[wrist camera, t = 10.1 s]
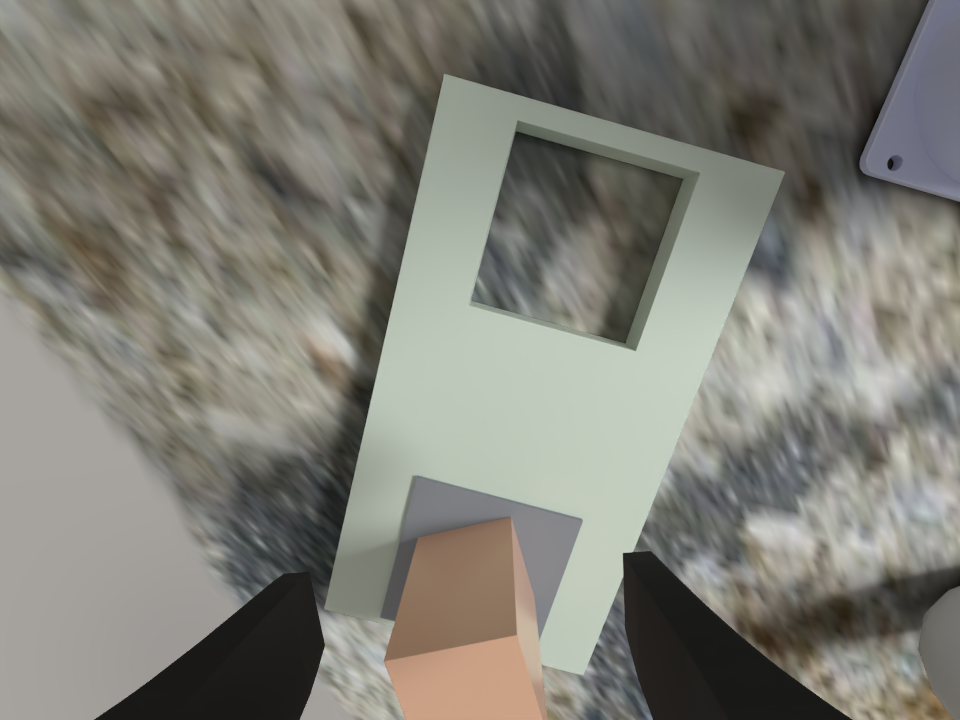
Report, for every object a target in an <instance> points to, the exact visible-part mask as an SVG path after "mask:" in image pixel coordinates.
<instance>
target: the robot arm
mask: <svg viewBox="0 0 960 720" xmlns="http://www.w3.org/2000/svg"><path fill="white" fill-rule="evenodd" d="M890 158H891V159H892V160H893V163H894V164H893V167H892V169H891V170H889V169H888V167H887V162H888V160H889V159H890ZM859 164H860V169H861V170H862V172H863V173H864V174H866V175H868V176H872V177H875V178H879V179H882V180H886V181H889V182H893V183H896V184H900V185H903V186H906V187H910V188H913V189H917V190H920V191H924V192H927V193H931V194H934V195H938V196H941V197H945V198H948V199H952V200H955V201H958V202H960V0H929V2H928V4H927V6H926V8H925V11H924V13H923V15H922V18H921V20H920V22H919V24H918V27H917V29H916V31H915V34H914V36H913V38H912V41H911V43H910V45H909V47H908V50H907V52H906V54H905V57H904V59H903V61H902V64H901V66H900V68H899V70H898V73H897V75H896V77H895V80H894V82H893V84H892V87H891V89H890V91H889V93H888V96H887V98H886V100H885V103H884V105H883V107H882V110H881V112H880V114H879V116H878V119H877V121H876V123H875V126H874V128H873V130H872V133H871V135H870V137H869V139H868V142H867V144H866V146H865V149H864V151H863V153H862V156H861V158H860V162H859ZM623 576H624V604H625V630H626V634H627V638H628V642H629V646H630V650H631V654H632V658H633V661H634V665H635V669H636V672H637V676H638V680H639V682H640V685H641V688H642V691H643V693H644V696H645V699H646V701H647V704H648V707H649V710H650V712H651V715H652V718H653V720H852V719H850V718H849V717H848V716H846V715H845V714H843V713H842V712H840V711H839V710H837V709H836V708H834V707H833V706H831V705H830V704H828V703H827V702H826V701H824V700H823V699H821V698H820V697H819V696H817V695H816V694H814V693H813V692H812V691H810V690H809V689H808V688H806V687H805V686H803V685H802V684H801V683H799V682H798V681H797V680H795V679H794V678H792V677H791V676H790V675H788V674H787V673H786V672H784V671H783V670H782V669H780V668H779V667H778V666H777V665H775V664H774V663H773V662H771V661H770V660H769V659H768V658H766V657H765V656H764V655H763V654H762V653H760V652H759V651H758V650H757V649H755V648H754V647H753V646H752V645H751V644H749V643H748V642H747V641H746V640H745V639H743V638H742V637H741V636H740V635H739V634H738V633H737V632H735V631H734V630H733V629H732V628H731V627H730V626H728V625H727V624H726V623H725V622H724V621H723V620H722V619H721V618H720V617H719V616H718V615H716V614H715V613H714V612H713V611H712V610H711V609H710V608H709V607H708V606H707V605H705V604H704V603H703V602H702V601H701V600H700V599H699V598H698V597H697V596H696V595H695V594H694V593H693V592H692V591H691V590H690V589H689V588H688V587H687V586H686V585H685V584H683V583H682V582H681V581H680V580H679V579H678V578H677V577H676V576H675V575H674V574H673V573H672V572H671V571H670V570H669V569H668V568H667V567H666V566H665V565H664V564H663V563H662V562H661V561H660V560H659V559H658V558H657V557H656V556H655V555H654V554H653V553H652V552H651V551H646V552H630V553H623ZM324 647H325V643H324V639H323V634H322V630H321V625H320V620H319V616H318V611H317V606H316V602H315V597H314V592H313V588H312V583H311V579H310V574H309V572H304V573H288V574H283V575H282V576H280V577H279V578H277V579H276V580H275V581H274V582H272V583H271V584H270V585H268V586H267V587H266V588H265V589H263V590H262V591H261V592H260V593H259V594H257V595H256V596H255V597H254V598H253V599H251V600H250V601H249V602H248V603H247V604H245V605H244V606H243V607H242V608H241V609H239V610H238V611H237V612H236V613H235V614H233V615H232V616H231V617H230V618H228V619H227V620H226V621H225V622H224V623H222V624H221V625H220V626H219V627H218V628H216V629H215V630H214V631H213V632H212V633H210V634H209V635H208V636H207V637H205V638H204V639H203V640H202V641H201V642H199V643H198V644H197V645H195V646H194V647H193V648H192V649H190V650H189V651H188V652H186V653H185V654H184V655H182V656H181V657H180V658H179V659H177V660H176V661H175V662H174V663H172V664H171V665H169V666H168V667H167V668H166V669H164V670H163V671H162V672H160V673H159V674H158V675H157V676H155V677H154V678H153V679H152V680H150V681H149V682H147V683H146V684H145V685H143V686H142V687H140V688H139V689H138V690H136V691H135V692H134V693H132V694H131V695H129V696H128V697H127V698H125V699H124V700H123V701H121V702H119V703H118V704H117V705H115V706H114V707H112V708H111V709H109V710H108V711H106V712H105V713H103V714H102V715H100V716H99V717H98V718H96V719H95V720H300V717H301V715H302V713H303V710H304V708H305V705H306V703H307V701H308V698H309V696H310V693H311V690H312V687H313V684H314V681H315V677H316V674H317V671H318V668H319V664H320V661H321V657H322V654H323V650H324Z"/></svg>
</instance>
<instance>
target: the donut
mask: <svg viewBox="0 0 960 720" xmlns="http://www.w3.org/2000/svg"><path fill="white" fill-rule="evenodd" d="M918 650H919V653H920V656H921V659H922V662H923V665H924V667H925V670H926V673H927V676H928V679H929V681H930V684H931V687H932V690H933V693H934V694H935V696H936V697H937V698H938V700H939V701H940V702H941V703H942V705H943V706H944V707H945V709H946V710H947V711H948V713H949V714H950V715H951V717H952V718H953V719H954V720H960V586H958V587H956V588H953V589H950V590H948V591H947V592H946V593H945V594H944V595H943V596H942V597H941V598H940V599H939V600H938V601H937V602H936V603H935V604H934V605H933V606H932V607H931V608H930V609H929V610H928V611H927V612H926V613H925V614H924V618H923V623H922V629H921V635H920V641H919V647H918Z"/></svg>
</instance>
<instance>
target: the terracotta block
mask: <svg viewBox="0 0 960 720" xmlns="http://www.w3.org/2000/svg"><path fill="white" fill-rule="evenodd" d="M384 663H385V666H386V668H387V671H388V674H389V676H390V679H391V681H392V684H393V687H394V689H395V692H396V694H397V697H398V700H399V702H400V705H401V707H402V710H403V712H404V715H405V718H406V720H547V711H546V702H545V692H544V683H543V673H542V664H541V654H540V645H539V635H538V626H537V616H536V607H535V598H534V594H533V591H532V587H531V584H530V580H529V577H528V574H527V570H526V567H525V563H524V560H523V556H522V553H521V549H520V546H519V542H518V539H517V535H516V532H515V529H514V525H513V522H512V518H511V517H508V518H503V519H499V520H494V521H490V522H485V523H481V524H476V525H472V526H468V527H463V528H459V529H454V530H450V531H445V532H441V533H436V534H432V535H427V536H423V537H418V540H417V543H416V547H415V551H414V554H413V558H412V561H411V565H410V569H409V572H408V576H407V580H406V583H405V587H404V590H403V594H402V598H401V601H400V605H399V609H398V612H397V616H396V619H395V623H394V627H393V630H392V634H391V638H390V641H389V645H388V648H387V652H386V656H385V659H384Z"/></svg>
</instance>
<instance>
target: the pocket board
mask: <svg viewBox="0 0 960 720" xmlns="http://www.w3.org/2000/svg"><path fill="white" fill-rule="evenodd" d="M516 131H517V132H520V133H524V134H527V135H531V136H534V137H538V138H541V139H545V140H548V141H552V142H555V143H559V144H562V145H566V146H569V147H573V148H576V149H580V150H583V151H587V152H590V153H594V154H597V155H601V156H604V157H608V158H611V159H615V160H619V161H622V162H626V163H629V164H633V165H636V166H640V167H643V168H647V169H650V170H654V171H657V172H661V173H664V174H668V175H671V176H675V177H678V178H682V179H683V181H682V184H681V187H680V190H679V193H678V195H677V198H676V201H675V204H674V207H673V210H672V212H671V215H670V218H669V221H668V224H667V227H666V229H665V232H664V235H663V238H662V241H661V244H660V246H659V249H658V252H657V255H656V258H655V261H654V263H653V266H652V269H651V272H650V275H649V278H648V280H647V283H646V286H645V289H644V292H643V295H642V297H641V300H640V303H639V306H638V309H637V312H636V314H635V317H634V320H633V323H632V326H631V329H630V331H629V334H628V337H627V340H626V343H622V342H618V341H615V340H611V339H607V338H604V337H600V336H597V335H593V334H589V333H586V332H582V331H578V330H575V329H571V328H567V327H564V326H560V325H557V324H553V323H549V322H546V321H542V320H538V319H535V318H531V317H527V316H524V315H520V314H516V313H513V312H509V311H506V310H502V309H498V308H495V307H491V306H487V305H484V304H480V303H476V302H473V301H471V298H472V295H473V291H474V287H475V283H476V280H477V276H478V272H479V268H480V264H481V261H482V257H483V253H484V249H485V246H486V242H487V238H488V234H489V230H490V227H491V223H492V219H493V215H494V212H495V208H496V204H497V200H498V197H499V193H500V189H501V185H502V181H503V178H504V174H505V170H506V166H507V163H508V159H509V155H510V151H511V147H512V144H513V140H514V136H515V132H516ZM784 174H785V172H784V171H781V170H777V169H774V168H770V167H767V166H763V165H760V164H756V163H753V162H749V161H746V160H742V159H739V158H736V157H732V156H729V155H725V154H722V153H718V152H715V151H711V150H708V149H704V148H701V147H697V146H694V145H690V144H687V143H683V142H680V141H676V140H673V139H669V138H666V137H662V136H659V135H655V134H652V133H649V132H645V131H642V130H638V129H635V128H631V127H628V126H624V125H621V124H617V123H614V122H610V121H607V120H603V119H600V118H596V117H593V116H589V115H586V114H582V113H579V112H575V111H572V110H568V109H565V108H562V107H558V106H555V105H551V104H548V103H544V102H541V101H537V100H534V99H530V98H527V97H523V96H520V95H516V94H513V93H509V92H506V91H502V90H499V89H495V88H492V87H488V86H485V85H481V84H478V83H475V82H471V81H468V80H464V79H461V78H457V77H454V76H450V75H447V74H444V78H443V82H442V87H441V91H440V95H439V100H438V104H437V109H436V113H435V118H434V122H433V127H432V131H431V136H430V140H429V144H428V149H427V153H426V158H425V162H424V167H423V171H422V176H421V180H420V185H419V189H418V193H417V198H416V202H415V207H414V211H413V216H412V220H411V225H410V229H409V233H408V238H407V242H406V247H405V251H404V256H403V260H402V265H401V269H400V274H399V278H398V282H397V287H396V291H395V296H394V300H393V305H392V309H391V314H390V318H389V322H388V327H387V331H386V336H385V340H384V345H383V349H382V354H381V358H380V363H379V367H378V371H377V376H376V380H375V385H374V389H373V394H372V398H371V403H370V407H369V412H368V416H367V420H366V425H365V429H364V434H363V438H362V443H361V447H360V452H359V456H358V460H357V465H356V469H355V474H354V478H353V483H352V487H351V492H350V496H349V501H348V505H347V509H346V514H345V518H344V523H343V527H342V532H341V536H340V541H339V545H338V550H337V554H336V558H335V563H334V567H333V572H332V576H331V581H330V585H329V590H328V594H327V598H326V603H325V607H324V609H325V610H329V611H333V612H337V613H340V614H344V615H348V616H352V617H356V618H360V619H364V620H368V621H372V622H376V623H380V624H384V625H388V626H391V627H394V623H395V619H396V616H397V612H398V609H399V605H400V601H401V598H402V594H403V590H404V587H405V583H406V580H407V576H408V572H409V569H410V565H411V561H412V558H413V554H414V551H415V547H416V543H417V540H418V537H423V536H427V535H432V534H436V533H441V532H445V531H450V530H454V529H459V528H463V527H468V526H472V525H476V524H481V523H485V522H490V521H494V520H499V519H503V518H508V517H511V518H512V522H513V525H514V529H515V532H516V535H517V539H518V542H519V546H520V549H521V553H522V556H523V560H524V563H525V567H526V570H527V574H528V577H529V580H530V584H531V587H532V591H533V594H534V598H535V607H536V616H537V626H538V635H539V645H540V654H541V664H542V665H544V666H548V667H552V668H556V669H560V670H564V671H568V672H572V673H576V674H580V675H584V673H585V670H586V668H587V665H588V663H589V660H590V658H591V655H592V653H593V650H594V648H595V645H596V643H597V640H598V638H599V635H600V633H601V630H602V628H603V625H604V623H605V620H606V618H607V615H608V613H609V610H610V608H611V605H612V603H613V600H614V598H615V595H616V593H617V590H618V588H619V585H620V583H621V580H622V578H623V553H630V552H633V550H634V548H635V545H636V543H637V540H638V538H639V535H640V533H641V531H642V528H643V526H644V523H645V521H646V518H647V516H648V513H649V511H650V508H651V506H652V503H653V501H654V498H655V496H656V493H657V491H658V488H659V486H660V483H661V481H662V478H663V476H664V473H665V471H666V468H667V466H668V463H669V461H670V458H671V456H672V453H673V451H674V448H675V446H676V443H677V441H678V438H679V436H680V433H681V431H682V428H683V426H684V423H685V421H686V418H687V416H688V413H689V411H690V408H691V406H692V403H693V401H694V398H695V396H696V394H697V391H698V389H699V386H700V384H701V381H702V379H703V376H704V374H705V371H706V369H707V366H708V364H709V361H710V359H711V356H712V354H713V351H714V349H715V346H716V344H717V341H718V339H719V336H720V334H721V331H722V329H723V326H724V324H725V321H726V319H727V316H728V314H729V311H730V309H731V306H732V304H733V301H734V299H735V296H736V294H737V291H738V289H739V286H740V284H741V281H742V279H743V276H744V274H745V271H746V269H747V266H748V264H749V261H750V259H751V257H752V254H753V252H754V249H755V247H756V244H757V242H758V239H759V237H760V234H761V232H762V229H763V227H764V224H765V222H766V219H767V217H768V214H769V212H770V209H771V207H772V204H773V202H774V199H775V197H776V194H777V192H778V189H779V187H780V184H781V182H782V179H783V177H784Z"/></svg>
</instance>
